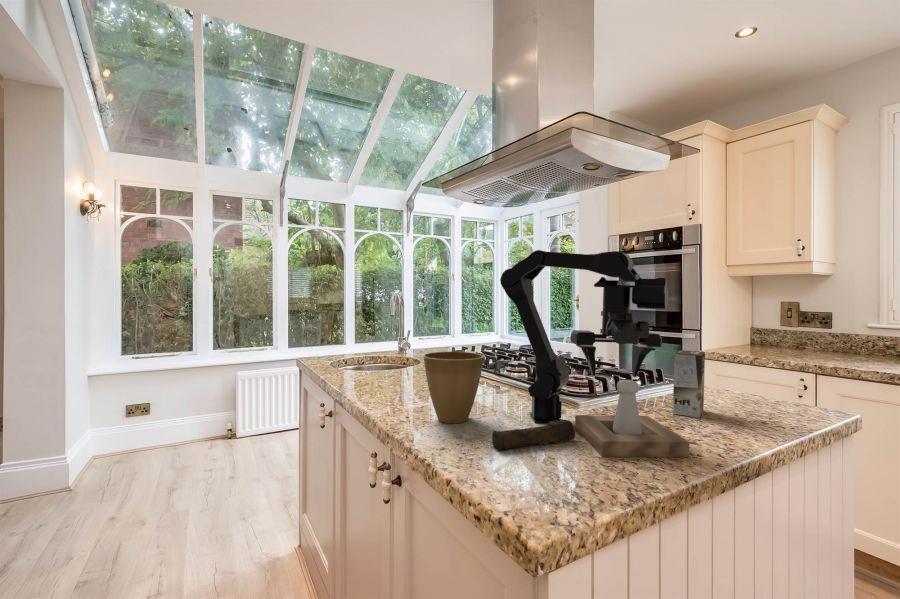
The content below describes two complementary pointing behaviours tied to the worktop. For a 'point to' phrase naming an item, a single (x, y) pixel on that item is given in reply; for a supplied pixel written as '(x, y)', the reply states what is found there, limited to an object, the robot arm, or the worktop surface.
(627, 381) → the salt shaker
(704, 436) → the worktop surface
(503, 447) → the dark brown log
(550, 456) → the worktop surface
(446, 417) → the plant pot
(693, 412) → the coffee box
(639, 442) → the socket board
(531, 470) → the worktop surface
